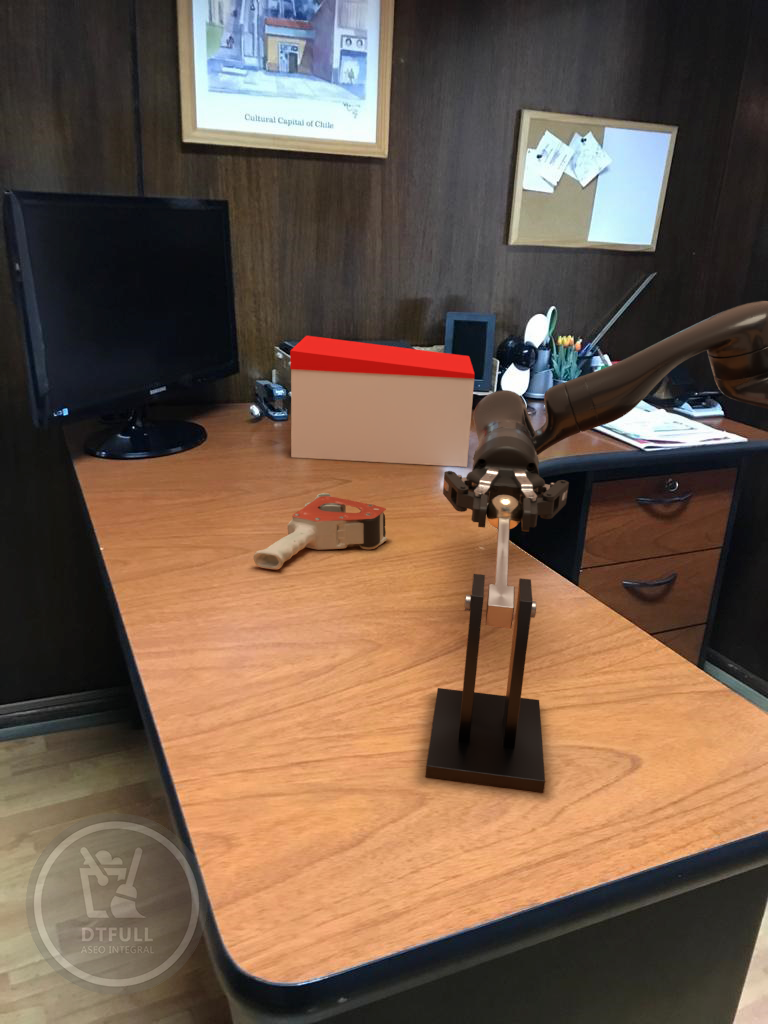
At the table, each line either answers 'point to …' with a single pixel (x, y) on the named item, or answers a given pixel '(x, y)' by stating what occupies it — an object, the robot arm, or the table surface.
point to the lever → (502, 560)
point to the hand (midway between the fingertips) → (504, 520)
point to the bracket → (490, 714)
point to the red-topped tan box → (379, 403)
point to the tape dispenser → (326, 529)
